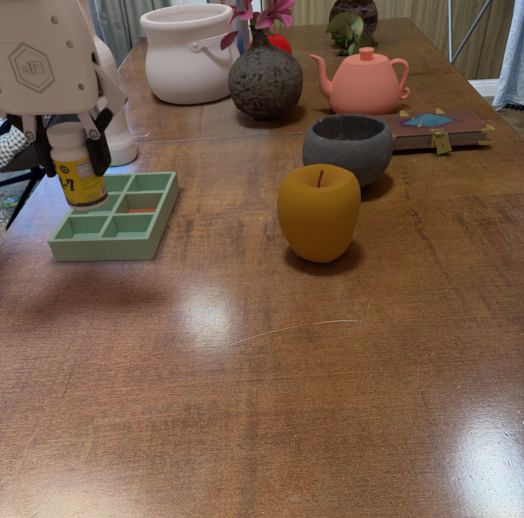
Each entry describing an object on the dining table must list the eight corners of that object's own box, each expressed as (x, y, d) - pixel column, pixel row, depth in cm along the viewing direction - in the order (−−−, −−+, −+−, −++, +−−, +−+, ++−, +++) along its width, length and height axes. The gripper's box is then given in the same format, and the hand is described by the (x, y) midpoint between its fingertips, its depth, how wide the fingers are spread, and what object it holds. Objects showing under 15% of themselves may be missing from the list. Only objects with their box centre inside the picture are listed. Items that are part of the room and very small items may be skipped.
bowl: (284, 186, 89) (282, 128, 82) (343, 159, 96) (345, 103, 89) (346, 214, 81) (349, 152, 74) (406, 183, 87) (414, 123, 80)
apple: (275, 275, 70) (270, 188, 61) (285, 234, 77) (281, 151, 69) (355, 278, 68) (362, 189, 59) (357, 236, 76) (363, 151, 67)
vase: (306, 128, 108) (304, -49, 88) (225, 134, 109) (205, -40, 88) (301, 102, 120) (298, -59, 100) (228, 107, 121) (211, -51, 100)
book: (347, 134, 107) (348, 108, 103) (466, 125, 106) (470, 100, 102) (359, 162, 94) (361, 134, 91) (493, 153, 93) (500, 124, 90)
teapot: (310, 126, 109) (310, 62, 100) (308, 102, 120) (308, 42, 111) (413, 121, 107) (422, 55, 98) (402, 97, 118) (409, 36, 110)
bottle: (126, 147, 107) (82, -27, 86) (145, 158, 102) (103, -24, 82) (91, 159, 104) (37, -19, 83) (110, 171, 99) (57, -16, 78)
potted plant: (328, 45, 163) (320, 66, 137) (332, -13, 154) (324, -3, 127) (377, 46, 162) (378, 68, 135) (384, -12, 152) (387, -1, 125)
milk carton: (213, 61, 152) (203, -20, 138) (220, 56, 156) (211, -24, 142) (244, 62, 149) (237, -21, 135) (251, 56, 153) (245, -25, 140)
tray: (55, 261, 76) (47, 241, 74) (99, 192, 92) (93, 174, 90) (153, 259, 75) (147, 238, 72) (179, 190, 91) (176, 171, 88)
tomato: (282, 82, 132) (280, 37, 125) (241, 78, 138) (238, 34, 131) (302, 70, 139) (301, 27, 132) (263, 66, 144) (260, 24, 137)
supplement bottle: (61, 202, 59) (34, 129, 53) (96, 188, 61) (74, 116, 55) (81, 216, 56) (55, 140, 50) (117, 200, 59) (96, 126, 53)
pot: (131, 95, 133) (113, 17, 121) (202, 71, 144) (192, -2, 132) (191, 116, 119) (177, 30, 107) (265, 88, 130) (260, 7, 118)
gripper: (-102, -18, 42) (-8, 189, 54) (95, -30, 40) (145, 186, 53) (-54, -32, 47) (21, 159, 60) (121, -43, 46) (161, 156, 58)
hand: (79, 170), depth 56 cm, fingers closed on supplement bottle, 4 cm apart
